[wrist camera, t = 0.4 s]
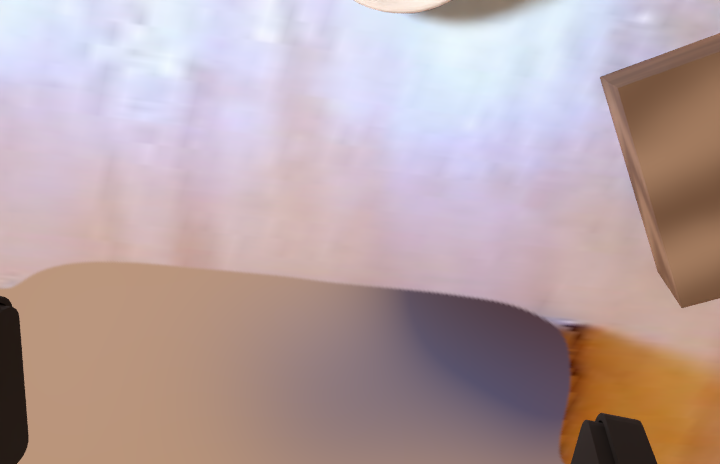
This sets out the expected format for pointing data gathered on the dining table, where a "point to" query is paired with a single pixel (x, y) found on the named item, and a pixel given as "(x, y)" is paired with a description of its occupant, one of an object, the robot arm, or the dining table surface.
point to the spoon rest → (402, 5)
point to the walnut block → (675, 161)
